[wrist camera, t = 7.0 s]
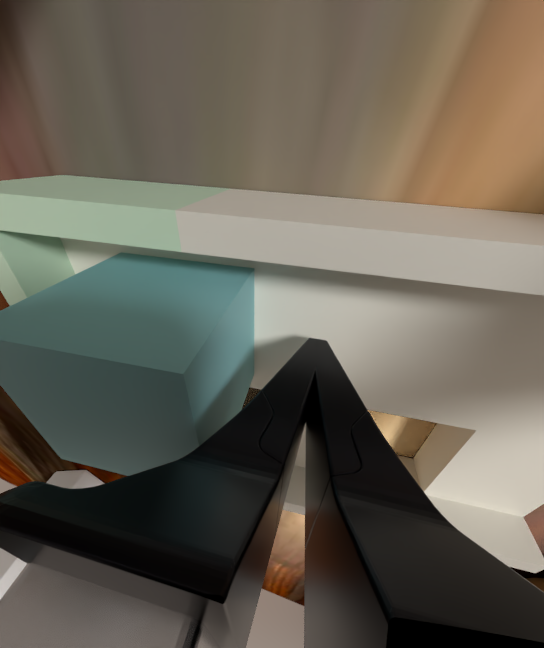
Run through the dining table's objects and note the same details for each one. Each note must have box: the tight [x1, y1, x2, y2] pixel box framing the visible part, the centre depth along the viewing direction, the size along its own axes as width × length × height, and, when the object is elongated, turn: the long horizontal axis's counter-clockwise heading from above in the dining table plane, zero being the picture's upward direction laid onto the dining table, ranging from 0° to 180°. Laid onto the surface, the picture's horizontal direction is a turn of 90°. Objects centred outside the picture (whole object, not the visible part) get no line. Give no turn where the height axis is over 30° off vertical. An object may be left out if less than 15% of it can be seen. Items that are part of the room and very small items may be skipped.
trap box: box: [0, 175, 544, 573], centre depth 11 cm, size 23×15×4 cm, turn 87°
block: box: [0, 252, 254, 476], centre depth 8 cm, size 5×5×5 cm
